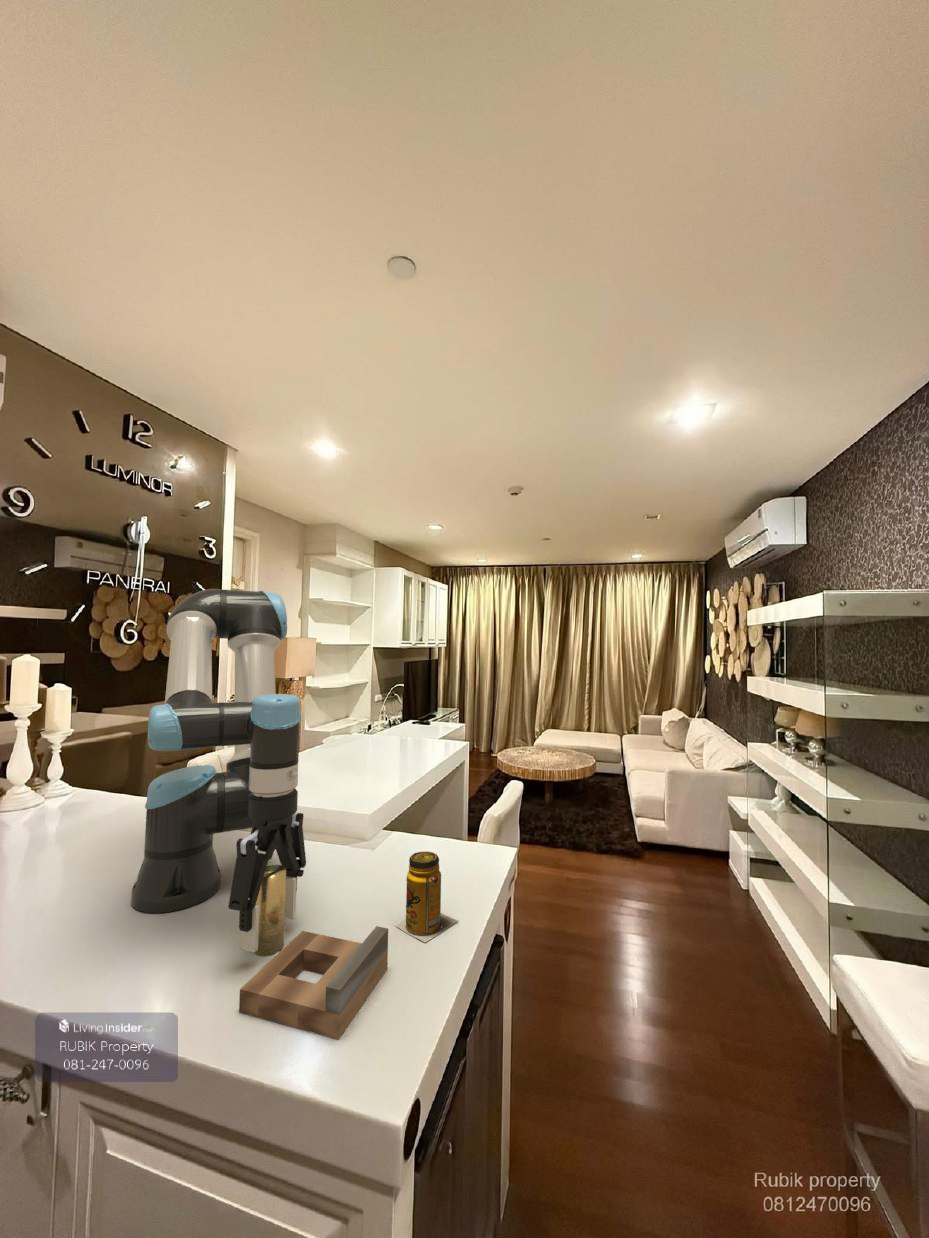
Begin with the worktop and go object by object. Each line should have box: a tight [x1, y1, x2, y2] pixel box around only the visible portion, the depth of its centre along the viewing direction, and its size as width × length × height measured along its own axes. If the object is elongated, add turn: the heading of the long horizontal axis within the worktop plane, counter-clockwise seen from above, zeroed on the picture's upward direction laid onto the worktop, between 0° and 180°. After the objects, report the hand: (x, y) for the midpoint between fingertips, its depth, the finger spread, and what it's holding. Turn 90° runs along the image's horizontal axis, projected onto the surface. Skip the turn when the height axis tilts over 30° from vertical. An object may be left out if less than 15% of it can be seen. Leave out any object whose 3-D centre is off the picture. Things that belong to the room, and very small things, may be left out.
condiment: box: [395, 851, 459, 943], centre depth 88 cm, size 7×8×12 cm
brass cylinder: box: [253, 864, 286, 957], centre depth 80 cm, size 5×5×12 cm
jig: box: [238, 925, 389, 1040], centre depth 71 cm, size 15×14×6 cm
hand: (269, 931), depth 80 cm, fingers open, 9 cm apart
